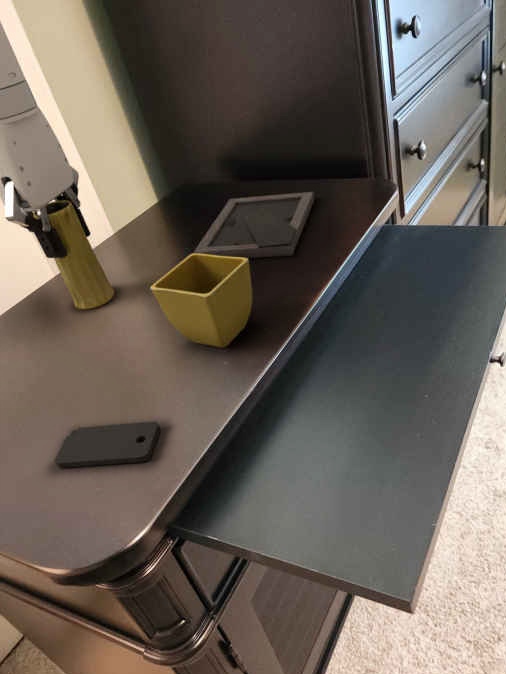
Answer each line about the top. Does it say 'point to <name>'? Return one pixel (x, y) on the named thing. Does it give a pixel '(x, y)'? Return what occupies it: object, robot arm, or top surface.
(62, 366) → the top surface
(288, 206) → the picture frame
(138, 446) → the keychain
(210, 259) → the flower pot
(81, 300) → the vase
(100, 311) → the top surface
